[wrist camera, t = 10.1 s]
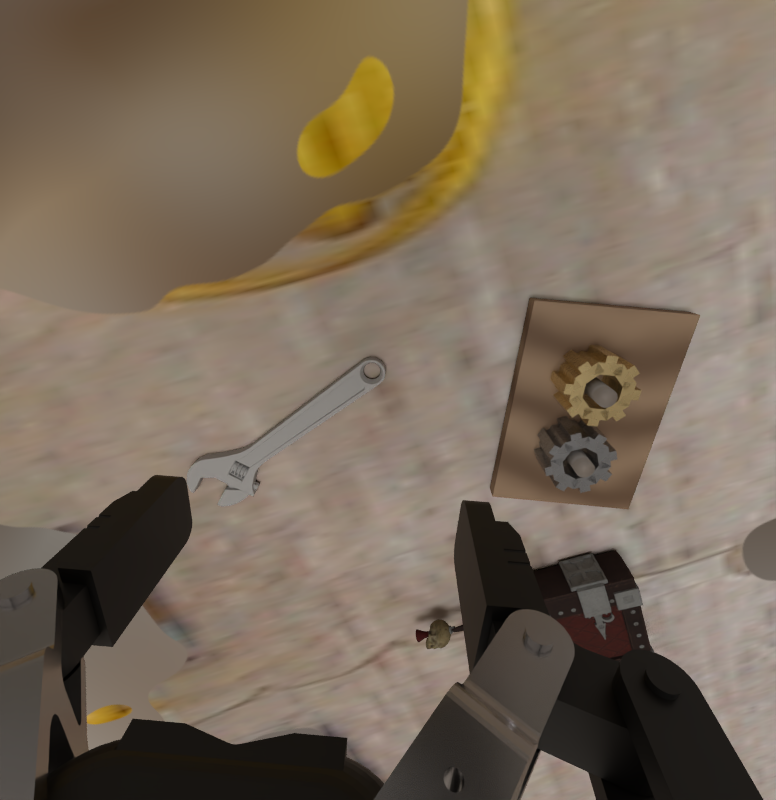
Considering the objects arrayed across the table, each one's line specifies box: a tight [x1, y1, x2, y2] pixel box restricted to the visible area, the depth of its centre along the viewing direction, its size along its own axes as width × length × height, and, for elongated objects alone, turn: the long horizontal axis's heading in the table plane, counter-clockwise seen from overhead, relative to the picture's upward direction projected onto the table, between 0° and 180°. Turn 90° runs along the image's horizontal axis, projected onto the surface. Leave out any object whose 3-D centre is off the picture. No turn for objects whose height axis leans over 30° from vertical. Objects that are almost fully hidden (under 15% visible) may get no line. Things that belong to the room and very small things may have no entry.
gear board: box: [490, 298, 700, 509], centre depth 37 cm, size 20×14×6 cm
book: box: [416, 550, 654, 662], centre depth 49 cm, size 15×25×5 cm, turn 112°
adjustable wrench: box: [187, 357, 386, 506], centre depth 42 cm, size 25×6×2 cm, turn 123°
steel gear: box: [534, 416, 617, 493], centre depth 38 cm, size 6×6×4 cm
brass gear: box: [550, 345, 642, 426], centre depth 35 cm, size 6×6×4 cm
